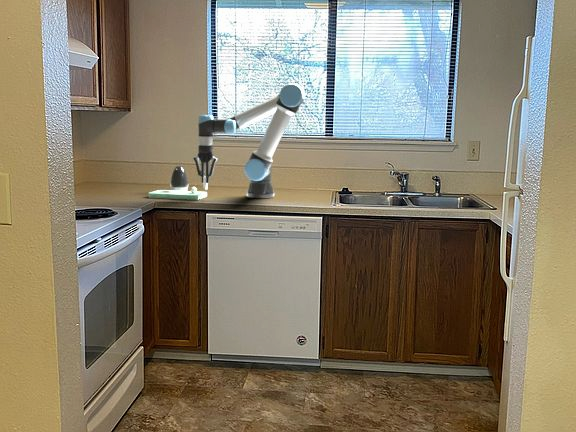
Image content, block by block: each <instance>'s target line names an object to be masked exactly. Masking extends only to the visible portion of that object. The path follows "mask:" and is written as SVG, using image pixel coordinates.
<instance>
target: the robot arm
mask: <svg viewBox="0 0 576 432" xmlns="http://www.w3.org/2000/svg"><path fill="white" fill-rule="evenodd" d="M305 99H306V92H305V90H304V88H303V87H302V86H300V85H299V84H297V83H294V82H291V83H287V84H285V85H283V87H282V88H281V89H280V91H279V93H277V94H276V96H275V97H273V98H270V99H268V100H266V101H265V102H261V103H260V104H258V105H256V106H253V107H251V108H249V109H247V110H245V111H242V112H240V113H238V114H236V115H233V116H232V117H230V118H228V119H227V118H226V119H221V118H220V119H217V118H214V116H213V115H211V114H210V115H209V114H201V115H199V117H198V123H197V125H198V140H197V141H198V147H197V148H198V150H197V151H198V152H197V156H195V157H193V161H194V162H195V167H196V172H197V175H198V176H200V177H201V183H202V185H203V186H202V189H203V190H208V187H209V186H208V184H209V183H210V177H212V176H213V175H214V171H215V167H216V163H217V161H218V160H219V159H218V158H217V157H215V156H214V153H213V152H214V145H213V143H214V141H213V140H214V134H215V135H216V134H219V135H235V133H236V132H237V131H239V130H241V129H243V128H245V127H247V126H249V125H252V124H254V123H256V122H258V121H261V120H262V119H265V118H267V117H269V116H272V115H273V116H272V117H271V120H270V122H269V124H268V126H267V127H266V128H267V129H266V130H265V132H264V135H263V136H262V139H261V141H260V143H259V145H258V147H257V149H256V150H253V151H252V153H251V155H250V157H249V158H248V161H246V163H245V165H244V175H245V176H246V177H247V178H248V179H249V185H248V188H247V191H246V197H247V198H251V199H270V198H274V197H275V191H274V188H273V183H272V164H273V162H274V160H273V156H274V153H275V152H276V149H277V147H278V145H279V143H280V141H281V139H282V137H283V136H284V133H285V131H286V129H287V126H288V125H289V122H290V120H291V119H292V116H294V115H297V113H298V111H299V109H300V106H301V105H303V103H304V101H305ZM211 161H212V162H211Z"/></svg>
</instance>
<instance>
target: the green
mask: <svg viewBox="0 0 576 432" xmlns="http://www.w3.org/2000/svg"><path fill="white" fill-rule="evenodd" d="M147 196H148V199H149V198H150V199H166V200H167V199H169V200H185V199H186V200H188V201H198V200H199V199H200V200H202V199H203V198H204V199H205V198H206V197H208V192H207V191H197V192H196V193H192V192H191V191H189V190H187V191H175V190H172V189H171V190H170V189H169V190H168V189H158V190H154V191H151V192H148V193H147Z"/></svg>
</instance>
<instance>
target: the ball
mask: <svg viewBox="0 0 576 432" xmlns="http://www.w3.org/2000/svg"><path fill="white" fill-rule="evenodd" d="M189 189H190V191H191V192H192V193H196V192H198V189H197V188H196V187H195V186H192V187H190V188H189Z"/></svg>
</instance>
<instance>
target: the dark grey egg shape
mask: <svg viewBox="0 0 576 432" xmlns="http://www.w3.org/2000/svg"><path fill="white" fill-rule="evenodd" d="M189 185H190V184H189V180H188V175H187V172H186V170H185V168H184V167H183V166H182V165H177V166H175V167H174V169H173V172H172V174H171V177H170V184H169V186H170V189H171V190H175V191H188V188H189Z"/></svg>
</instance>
